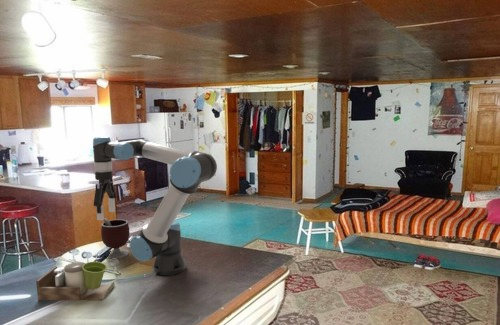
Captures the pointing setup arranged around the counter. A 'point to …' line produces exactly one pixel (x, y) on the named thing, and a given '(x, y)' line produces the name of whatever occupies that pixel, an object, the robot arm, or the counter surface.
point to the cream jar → (75, 276)
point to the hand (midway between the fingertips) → (106, 215)
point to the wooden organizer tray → (68, 290)
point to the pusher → (60, 277)
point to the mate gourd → (115, 236)
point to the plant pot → (93, 274)
